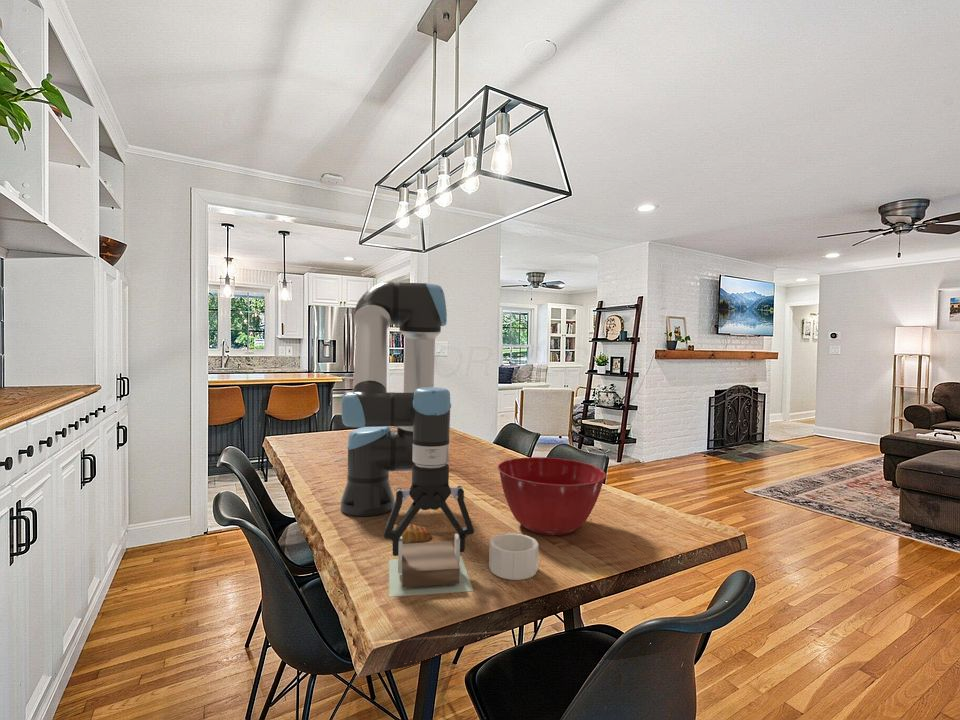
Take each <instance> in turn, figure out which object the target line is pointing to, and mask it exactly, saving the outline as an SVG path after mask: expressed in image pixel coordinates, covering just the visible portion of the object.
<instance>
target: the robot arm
mask: <svg viewBox="0 0 960 720" xmlns="http://www.w3.org/2000/svg"><path fill="white" fill-rule="evenodd" d="M443 289H444V288H442V286H441V285H439V284H436V283H427V282H424V283H422V282H399V281H398V282H397V281H383V282H381V283H378V284H375V285H374V286H372V287H370V288H369V289H368V290H367V291H365V292H364V294H362V296H360V298H359V299H358V301H357V303H356V305H355V308H354V312H353V323H354V325H355V327H356V338H355V340H356V343H355V353H354V354H355V356H354V368H353V370H354V371H353V383H352V391H350V392H344V393H343V395H342V401H341V421H342V424H343V425H344V426H345V427H352V428H356V429H354V430H352V431H350V432H349V435H348V439H347V440H348V441H347V446H346V449H347V480H346V481H347V482H346V485H345V488H344V491H343V493H342V497H341V500H340V511H341V512H342V513H344V514H346V515H349V516H353V517H354V516H356V517H371V516H372V517H373V516H379V515H384V514H386V513H389V512H390V514H389V516H388V520H387V522H386V523H385V524H386V525H385V527H384V530H383V537H384V539H386V540H387V539H389V540H391V541H392V555H393V557H397V559H398V573H402V536H401V535H402V534H403V532H404V531H405V529H406V528H407V526H408V525H409V524H411V522H412V521H413V519H414V518H415V516H416V515H417V514H418V513H419V512H420V510H422V511H427V510H433V511H437V510H439V509H441V511H442V512H443V513H444V515H445V516H446V518H447V519H448V520H449V521H448V522H450V524H451V525H452V527H453V528H454V530H455V531H456V533H454V545H453V548H454V552H455V555H456V558H457V561H458V565H459V563H460V556H461V555H460V554H461V553H465V550H466V538H467V536H469V535H473V534H474V533H475V530H474V527H473V524H472V520H471V517H470V515H469V512H468V509H467V506H466V502H465V500H464V498H465V497H464V496H465V492H464V491H465V490H464V489H463V487H462V486H461V485H458V486H457V487H450V482H449V481H450V476H449V475H450V465H449V464H448V463H449V462H450V429H451V428H450V427H451V425H450V424H451V423H450V421H451V409H452V404H451V403H452V402H451V393H450V390H448V389H447V388H443V387H435V386H434V383H435V350H436V338H437V336H439V335H440V334H441V332H442V331H441V330H442V329H441V328H442V327H444V326H446V325H447V322H448V321H447V320H448V319H447V317H448V315H447V305H446V304H447V303H446V297H445V292H444V290H443ZM391 325H399V332H400V333H401V334H402V335H403V337H404V350H403V351H404V352H403V353H404V354H403V355H404V357H403V392H394V391H393V392H387V391H388V390H387V385H388V384H387V380H388V379H387V375H388V374H387V373H388V371H387V370H388V367H387V366H388V363H387V362H388V357H387V356H388V354H387V353H388V344H387V343H388V329H389V328H390V326H391ZM390 427H394V428H395V427H397V428H396V429H395V430H391V428H390ZM409 471H410V472H411V486H410V488H409V489H408V488H405V489H403V488H402V487H398V488H396V492H395V494H396V496H395V497H394V493H393V490H392V487H391V484H390V480H389V479H390V477H389V476H390V475H389V474H390V472H409ZM450 495H452V496H453V498H454V499H455V500H456V501H457V504H458V507H459V509H460V510H459V511H460V512H461V515H462V518H463V522H464V524H465V527H463V526H462V525H461V523H460V522H459V520H458V519H457V517H456V516H455V513H453V512H452V510H451V507H449V504H448V503H447V502H446V501H447V500H448V499H449V496H450ZM408 496H409V497H410V498H411V500H412V503H411V505H410V507H409V508H408V510H407V512H406V513H405V514H404V516H403V517H402V519H401V520H400V522H399V523H398V524H397V525H398V526H397V528H396V529H395V531H393V528H394V525H396V522H397V519H398V516H399V513H400V511H401V508H402V506H403V501H406V500H407V497H408Z"/></svg>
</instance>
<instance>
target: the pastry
mask: <svg viewBox="0 0 960 720" xmlns="http://www.w3.org/2000/svg"><path fill="white" fill-rule="evenodd" d="M398 525H399V524H394V527H393V529H392V531H395V529H396V528H397V526H398ZM401 536H402V544H410V543H420V542H425V541H427V540H429V539H431V538H432V533H431V529H430V528H428V527H426V526H421V525H419V524H418V525H417V524H412V523H410V524H409V525H408V526H407V528H406V529H405V531H404V532H403V534H402V535H401Z"/></svg>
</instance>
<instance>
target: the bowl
mask: <svg viewBox="0 0 960 720" xmlns="http://www.w3.org/2000/svg"><path fill="white" fill-rule="evenodd" d="M488 554H489V557H488V559H489V561H488V568H489V570H490V572H491V574H493V575H495V576H497V577H498V578H501V579H504V580H511V581H523V580H526V579H532V578H534V577H535V576H536V574H537V572H538V569H539V543H538V541H537V540H536V538H534V537H532V536H529V535H526V534H520V533H515V532H514V533H512V532H511V533H500V534H498V535H495V536H492V538H491V539H490V540H489V553H488ZM534 575H535V576H534ZM533 576H534V577H533ZM531 577H532V578H531Z"/></svg>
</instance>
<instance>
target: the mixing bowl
mask: <svg viewBox="0 0 960 720" xmlns="http://www.w3.org/2000/svg"><path fill="white" fill-rule="evenodd" d="M497 470H498V472H499V479H500V482H501V487H502V490H503V494H504V497H505V499H506V502H507V505H508V508H509V509H510V511H511V513H512V515H513V517H514V518H515V520H516V521H517V522H518V523H519V524H520V525H521V526H523V527H524V528H525V529H526V530H528V531H530V532H533V533H536V534H540V535H546V536H562V535H568V534H570V533H572V532H573V531H575V530H577V529H580V527H582V526H583V525H584V524H585V522H586V521H587V520H588V518H589V516H590V515H591V513H592V511H593V510H594V507H595V506H596V502H597V501H598V498H599V496H600V493H601V490H602V487H603V484H604V480H605V479H606V477H607V474H606V472H605V471H604V470H603V469H602V468H599V467H598V466H596V465H593V464H589V463H587V462H584V461H583V462H581V461H578V460H574V459H564V458H559V457H558V458H557V457H545V456H544V457H542V456H541V457H540V456H538V457H537V456H535V457H534V456H533V457H532V456H531V457H530V456H529V457H517V458H511V459H507V460H503V461H501V462H500V463H498V464H497Z"/></svg>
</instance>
